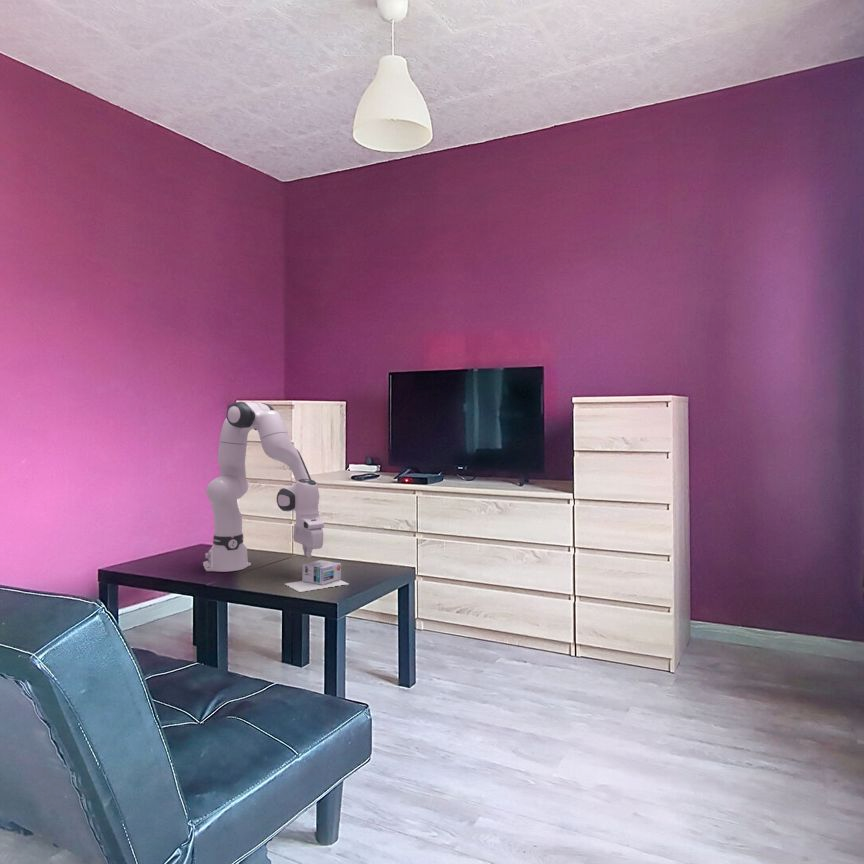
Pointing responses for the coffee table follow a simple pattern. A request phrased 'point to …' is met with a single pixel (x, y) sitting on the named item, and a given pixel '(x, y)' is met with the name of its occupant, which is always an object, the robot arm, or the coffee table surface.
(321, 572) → the light bulb box
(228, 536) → the robot arm
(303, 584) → the mat
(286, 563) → the coffee table surface
